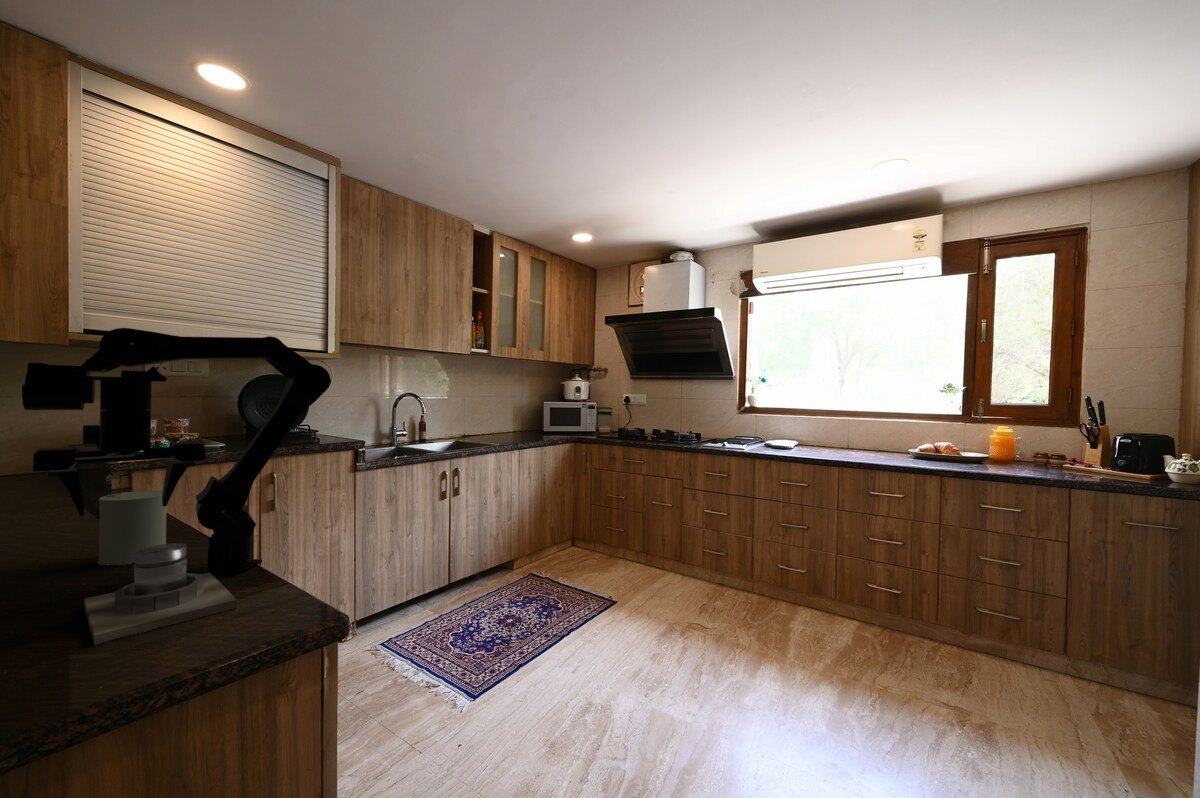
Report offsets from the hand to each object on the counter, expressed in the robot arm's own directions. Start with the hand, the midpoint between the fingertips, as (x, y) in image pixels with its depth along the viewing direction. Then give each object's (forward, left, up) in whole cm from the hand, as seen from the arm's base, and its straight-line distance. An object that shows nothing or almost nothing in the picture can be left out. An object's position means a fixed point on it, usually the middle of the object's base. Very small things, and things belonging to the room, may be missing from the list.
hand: (124, 510), depth 75 cm
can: (-14, -12, -12) cm, 22 cm away
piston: (+7, +12, -11) cm, 17 cm away
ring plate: (+7, +12, -12) cm, 18 cm away
